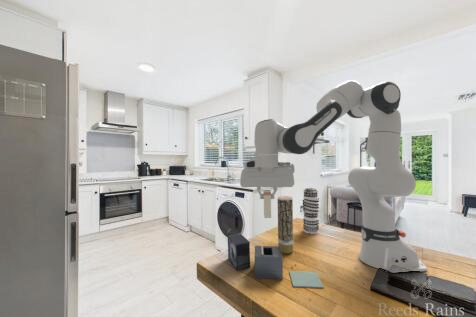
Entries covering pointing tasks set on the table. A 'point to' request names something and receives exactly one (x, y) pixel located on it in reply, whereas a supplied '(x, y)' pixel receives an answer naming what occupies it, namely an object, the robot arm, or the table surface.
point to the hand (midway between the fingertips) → (267, 198)
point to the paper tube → (285, 224)
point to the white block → (267, 203)
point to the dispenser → (268, 262)
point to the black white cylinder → (310, 211)
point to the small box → (239, 251)
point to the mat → (305, 279)
